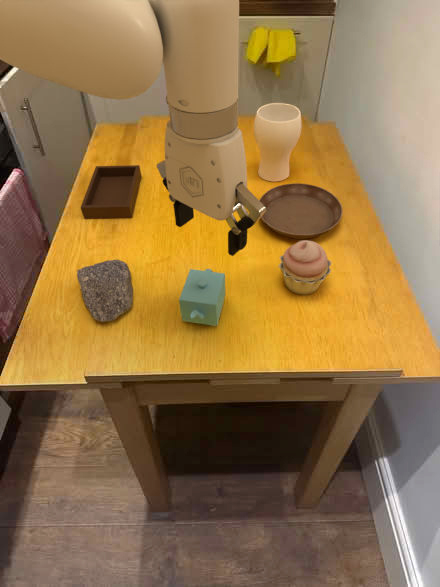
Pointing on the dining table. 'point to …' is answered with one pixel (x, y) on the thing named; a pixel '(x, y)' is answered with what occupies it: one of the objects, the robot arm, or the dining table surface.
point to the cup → (276, 138)
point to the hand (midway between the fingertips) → (210, 235)
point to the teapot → (202, 297)
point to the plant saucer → (300, 210)
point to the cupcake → (304, 267)
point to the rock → (106, 289)
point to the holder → (112, 192)
